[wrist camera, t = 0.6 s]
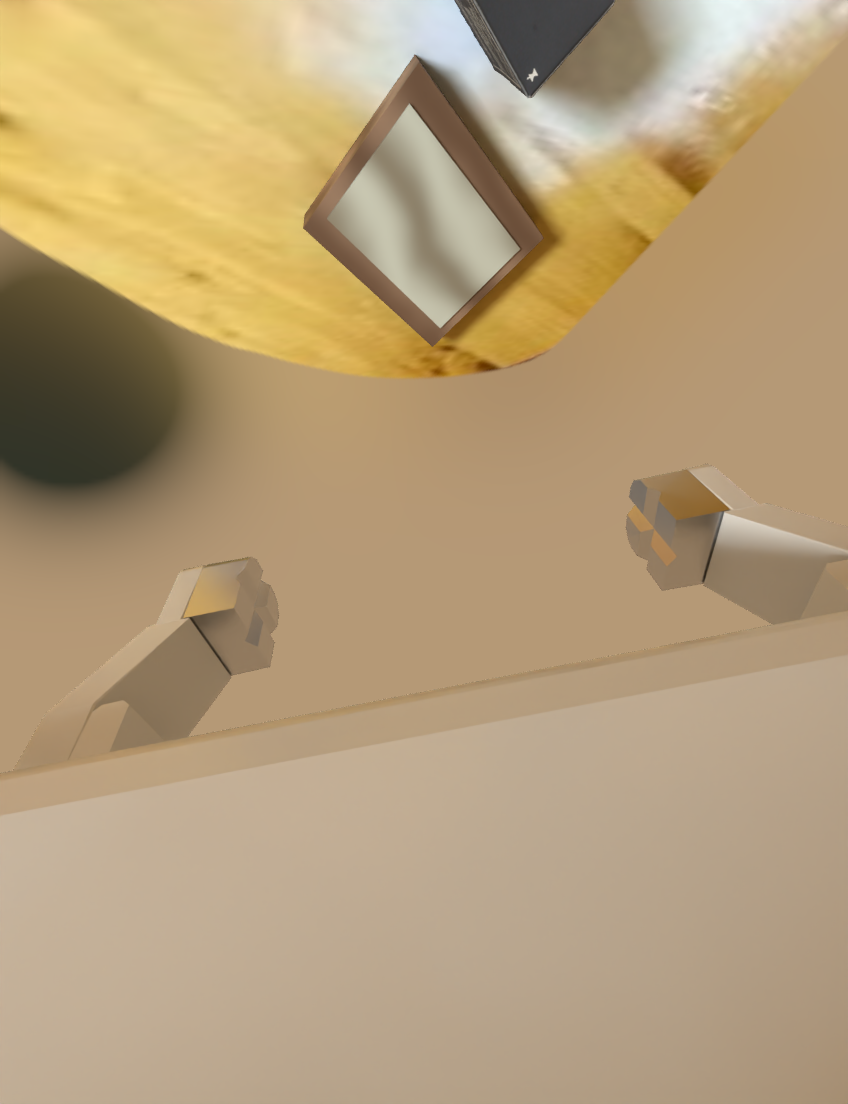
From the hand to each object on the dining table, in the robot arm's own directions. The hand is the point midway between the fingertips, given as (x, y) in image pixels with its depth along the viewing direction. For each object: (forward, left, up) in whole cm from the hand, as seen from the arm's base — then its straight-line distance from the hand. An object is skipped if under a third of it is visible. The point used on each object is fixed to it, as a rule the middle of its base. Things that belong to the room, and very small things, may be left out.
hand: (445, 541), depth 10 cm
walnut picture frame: (+3, +9, -44) cm, 45 cm away
